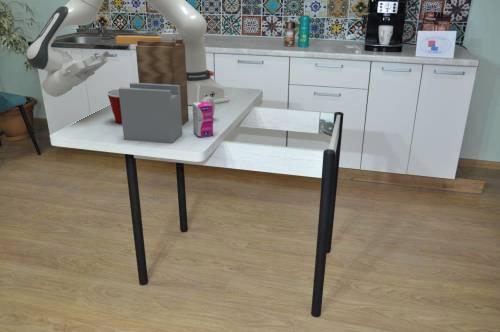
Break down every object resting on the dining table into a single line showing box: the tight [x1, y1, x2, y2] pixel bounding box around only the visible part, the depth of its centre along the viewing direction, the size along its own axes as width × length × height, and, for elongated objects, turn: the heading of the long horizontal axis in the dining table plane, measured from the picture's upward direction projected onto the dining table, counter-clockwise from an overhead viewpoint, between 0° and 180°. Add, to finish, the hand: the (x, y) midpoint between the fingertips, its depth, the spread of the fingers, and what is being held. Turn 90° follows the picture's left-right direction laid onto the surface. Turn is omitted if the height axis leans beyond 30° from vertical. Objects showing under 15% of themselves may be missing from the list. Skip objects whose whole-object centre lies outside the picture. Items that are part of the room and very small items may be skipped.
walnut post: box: [135, 38, 190, 127], centre depth 178 cm, size 14×12×32 cm
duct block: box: [118, 82, 184, 144], centre depth 166 cm, size 18×10×18 cm, turn 76°
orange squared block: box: [115, 32, 176, 45], centre depth 174 cm, size 22×4×4 cm, turn 76°
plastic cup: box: [106, 88, 122, 125], centre depth 185 cm, size 11×11×12 cm
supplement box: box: [192, 102, 214, 139], centre depth 170 cm, size 6×6×12 cm
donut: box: [201, 96, 216, 116], centre depth 185 cm, size 10×4×10 cm, turn 161°
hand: (102, 54), depth 180 cm, fingers open, 8 cm apart
